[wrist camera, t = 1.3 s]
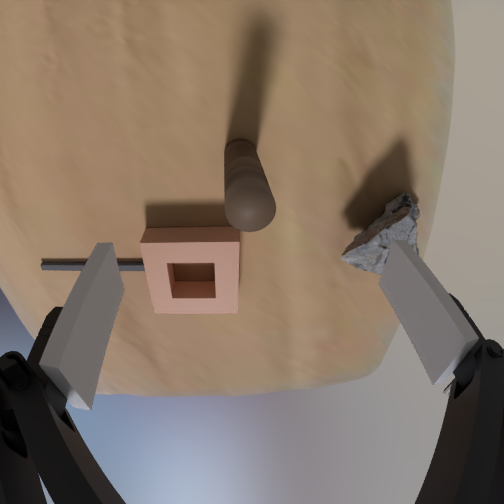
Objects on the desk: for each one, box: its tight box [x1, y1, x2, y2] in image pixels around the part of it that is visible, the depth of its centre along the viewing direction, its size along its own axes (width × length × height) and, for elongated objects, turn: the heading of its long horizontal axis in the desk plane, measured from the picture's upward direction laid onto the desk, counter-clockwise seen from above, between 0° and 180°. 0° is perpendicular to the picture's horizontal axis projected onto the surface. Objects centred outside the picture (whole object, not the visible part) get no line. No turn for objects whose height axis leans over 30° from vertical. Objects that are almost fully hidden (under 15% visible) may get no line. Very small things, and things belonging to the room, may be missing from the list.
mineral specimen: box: [342, 192, 420, 275], centre depth 31 cm, size 10×8×10 cm
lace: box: [41, 262, 145, 271], centre depth 32 cm, size 1×16×1 cm, turn 88°
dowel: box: [224, 139, 276, 232], centre depth 22 cm, size 3×3×12 cm
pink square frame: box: [140, 227, 239, 314], centre depth 33 cm, size 10×10×3 cm
